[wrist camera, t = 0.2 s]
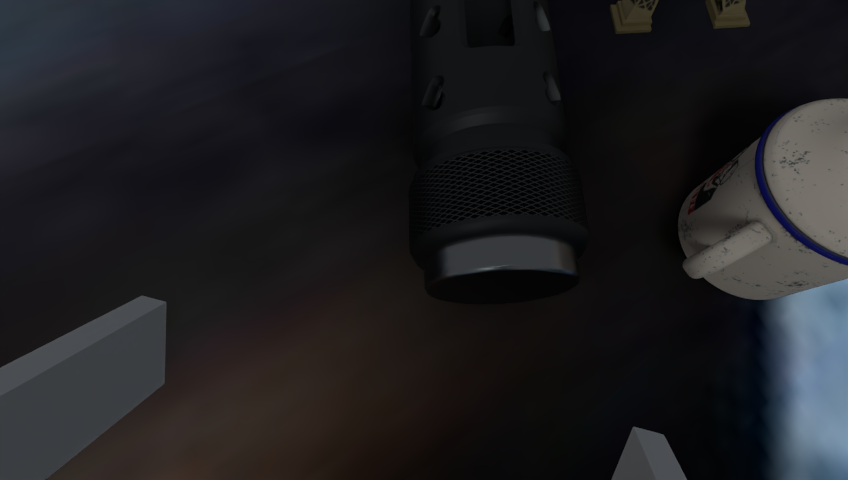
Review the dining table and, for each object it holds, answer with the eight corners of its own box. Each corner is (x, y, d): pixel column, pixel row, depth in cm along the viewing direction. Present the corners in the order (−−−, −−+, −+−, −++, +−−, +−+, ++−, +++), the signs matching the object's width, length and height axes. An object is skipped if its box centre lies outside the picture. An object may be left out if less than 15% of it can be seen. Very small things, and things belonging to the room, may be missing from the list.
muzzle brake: (520, -21, 38) (550, -164, 28) (562, 306, 29) (628, 261, 19) (408, -16, 38) (399, -158, 28) (415, 311, 29) (404, 268, 19)
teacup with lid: (747, 156, 32) (913, 29, 21) (843, 263, 29) (1093, 184, 18) (608, 232, 30) (708, 138, 19) (696, 353, 27) (872, 326, 16)
